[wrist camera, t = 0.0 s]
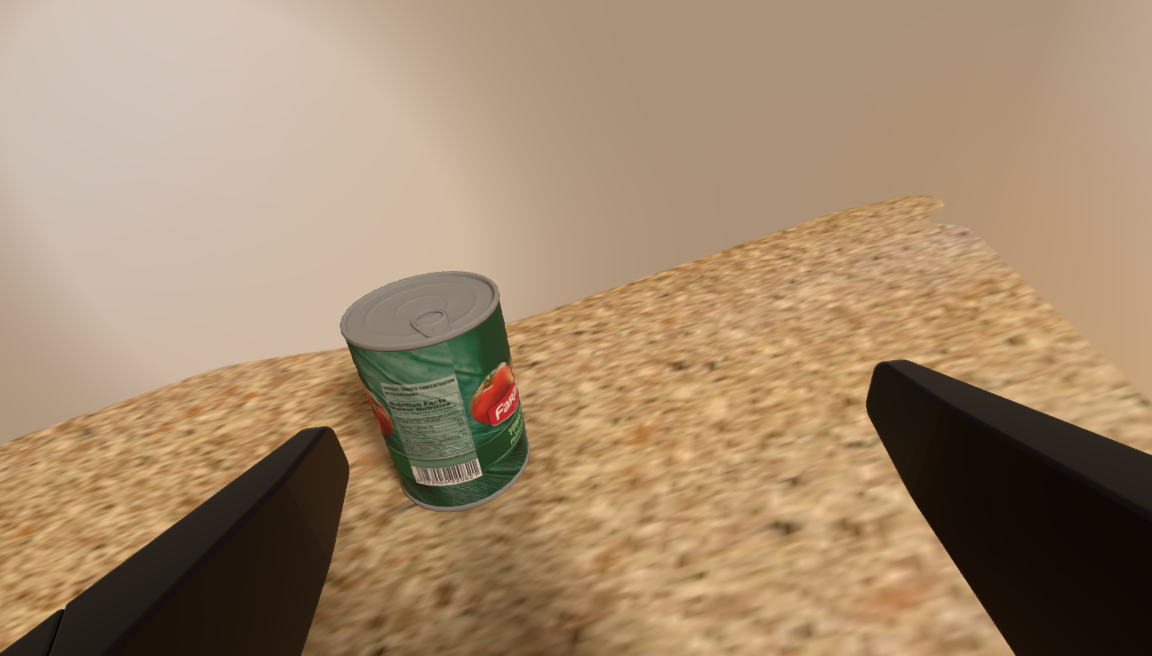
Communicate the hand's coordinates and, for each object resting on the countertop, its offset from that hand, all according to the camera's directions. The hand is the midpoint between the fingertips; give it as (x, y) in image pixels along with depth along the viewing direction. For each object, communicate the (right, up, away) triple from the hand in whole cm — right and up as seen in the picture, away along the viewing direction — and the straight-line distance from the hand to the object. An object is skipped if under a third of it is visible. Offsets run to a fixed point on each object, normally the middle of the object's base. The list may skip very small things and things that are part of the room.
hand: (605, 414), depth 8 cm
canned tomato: (-7, -7, +23) cm, 25 cm away
